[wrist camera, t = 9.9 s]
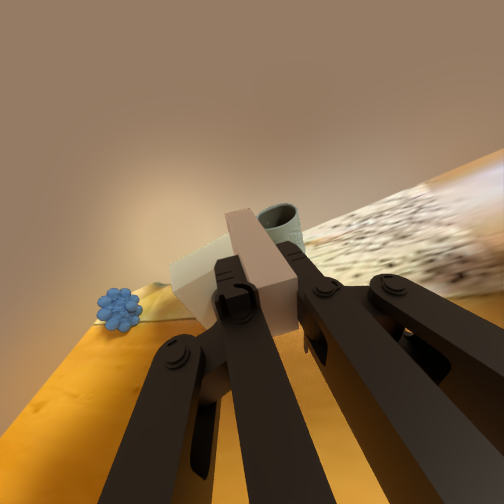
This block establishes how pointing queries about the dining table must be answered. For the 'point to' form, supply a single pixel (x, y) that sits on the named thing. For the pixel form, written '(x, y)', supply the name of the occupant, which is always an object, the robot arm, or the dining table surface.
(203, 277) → the cream rectangular block
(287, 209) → the grey-green cup
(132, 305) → the grapes
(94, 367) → the dining table surface
